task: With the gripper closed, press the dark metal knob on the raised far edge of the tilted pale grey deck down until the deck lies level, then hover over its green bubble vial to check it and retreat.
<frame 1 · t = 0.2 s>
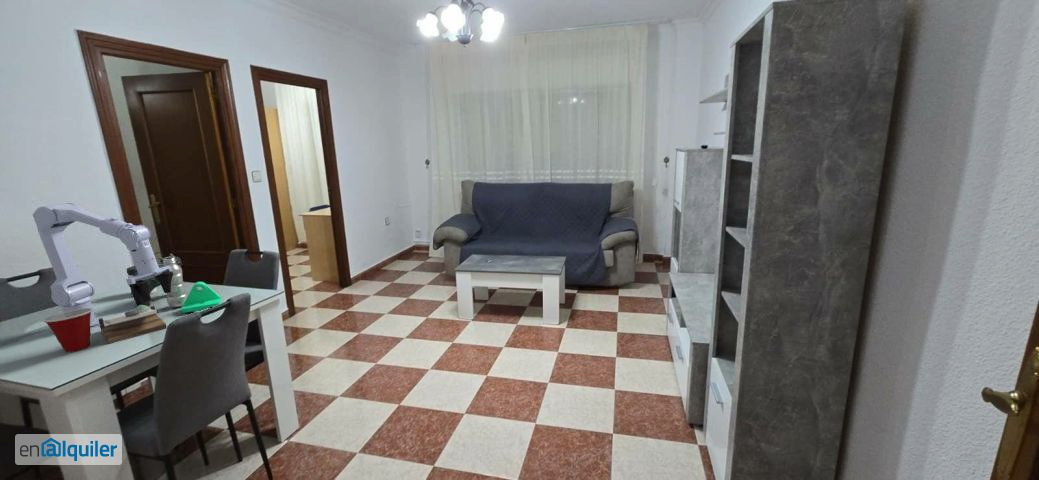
hand: (158, 296, 149), 11 cm above the table, tool pointing down, fingers open, 7 cm apart
plastic cup: (77, 348, 135), on the table
jar: (145, 293, 185), on the table
green triangular piece: (202, 309, 166), on the table
plastic bottle: (179, 306, 169), on the table
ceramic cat: (163, 300, 176), on the table
instrument deck: (129, 313, 147), point 6 cm above the table, hinge at 12.0°
walnut base: (134, 329, 148), on the table
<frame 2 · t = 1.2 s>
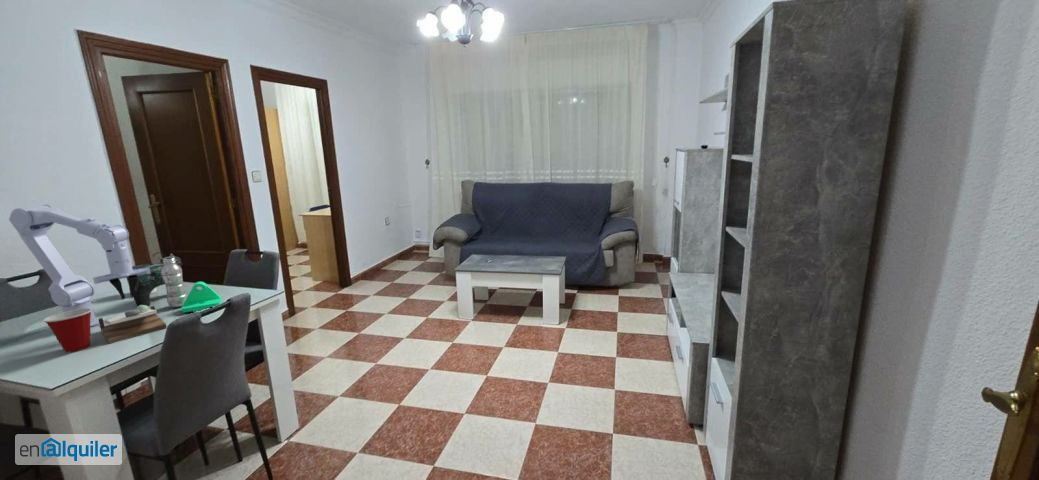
hand: (128, 297, 149), 10 cm above the table, tool pointing down, fingers closed
nothing on the table moved.
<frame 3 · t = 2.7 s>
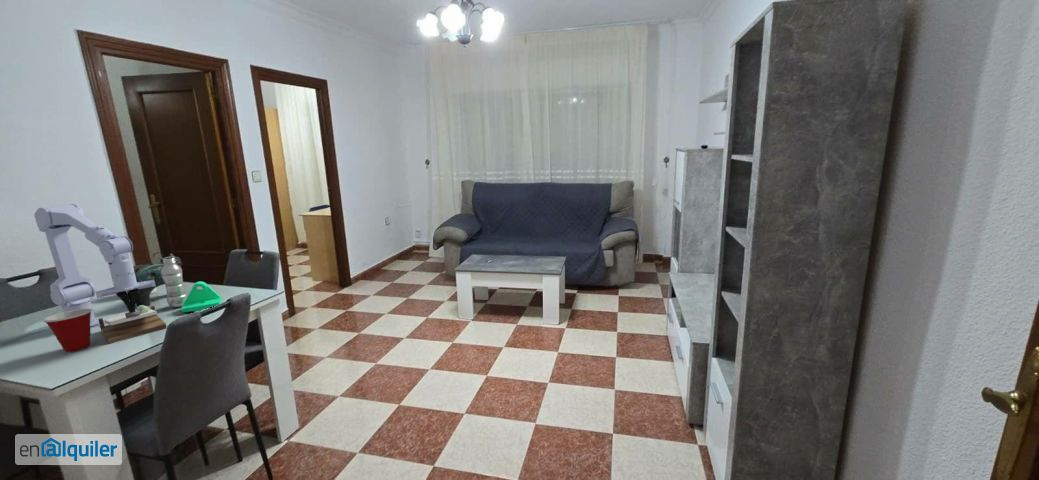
hand: (132, 311, 143), 8 cm above the table, tool pointing down, fingers closed, pressing on instrument deck
instrument deck: (130, 313, 147), point 6 cm above the table, hinge at 10.8°, touching gripper
everything else where it was.
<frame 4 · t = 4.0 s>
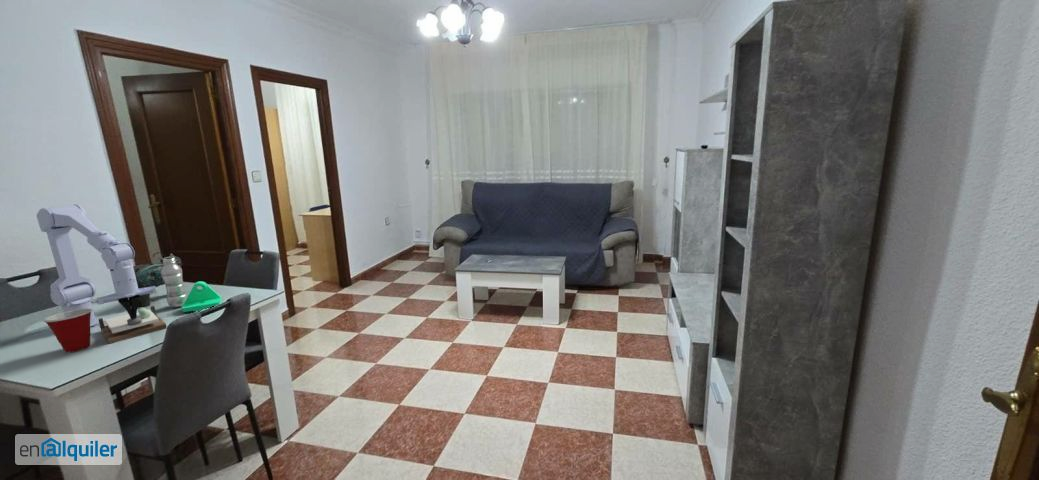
hand: (133, 317, 143), 6 cm above the table, tool pointing down, fingers closed
instrument deck: (131, 317, 147), point 5 cm above the table, hinge at -0.6°
everything else where it was.
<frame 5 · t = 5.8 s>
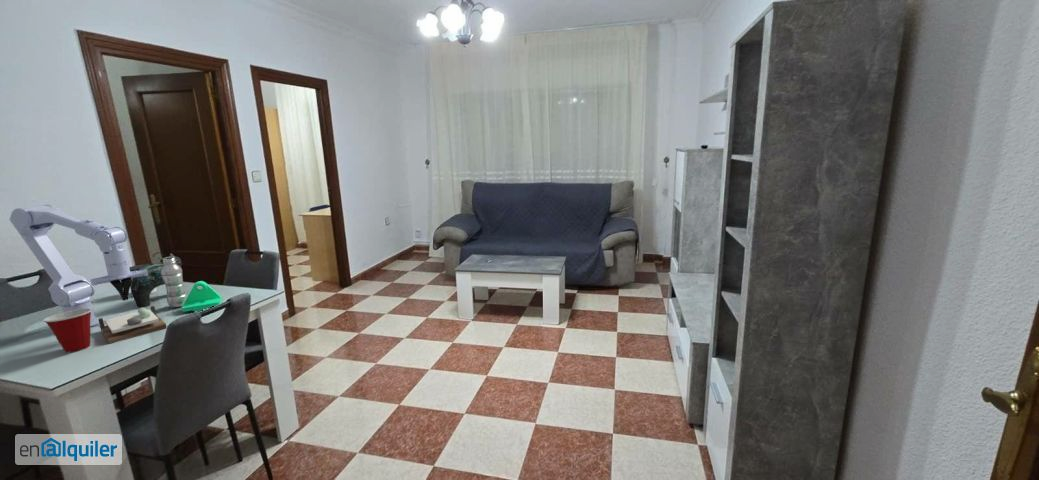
hand: (125, 299, 149), 10 cm above the table, tool pointing down, fingers closed
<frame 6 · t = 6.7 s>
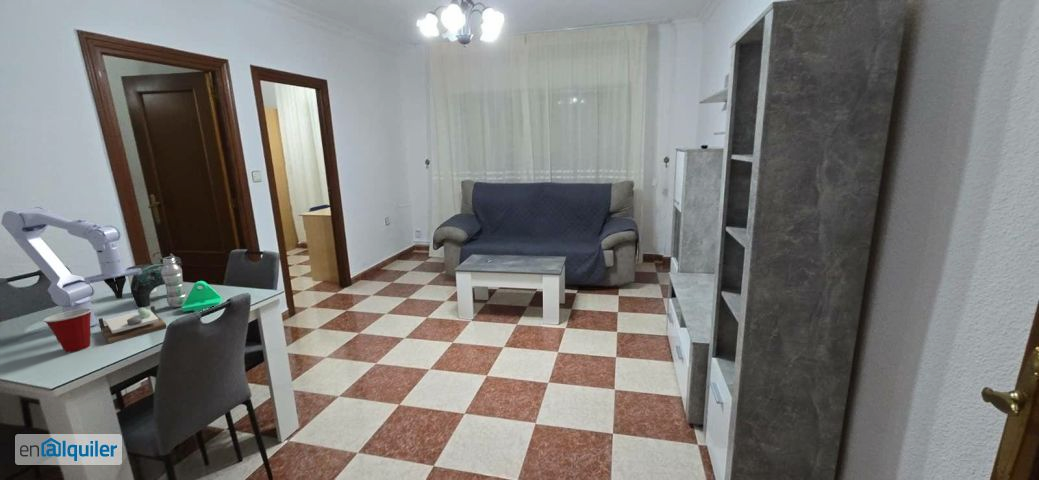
hand: (119, 297, 149), 10 cm above the table, tool pointing down, fingers closed
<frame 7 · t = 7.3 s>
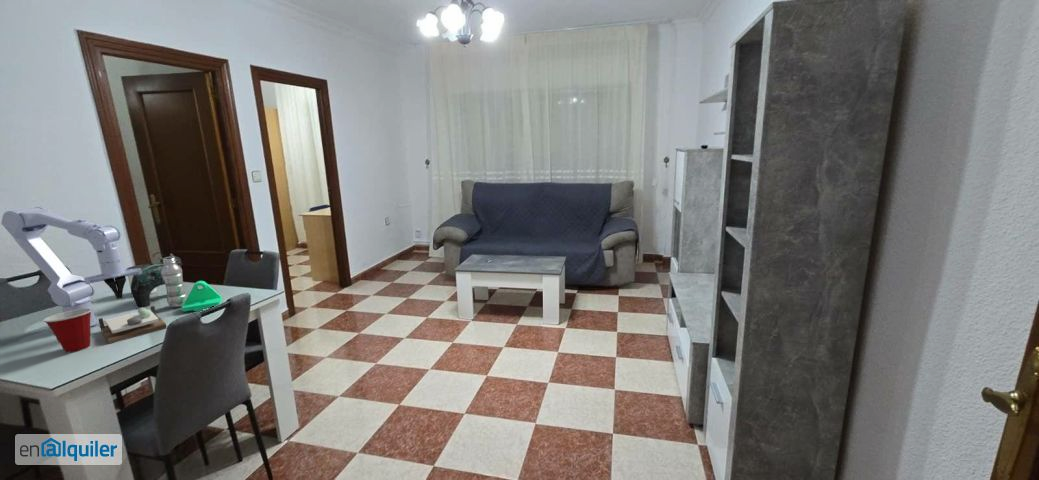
hand: (119, 297, 149), 10 cm above the table, tool pointing down, fingers closed
at the end: instrument deck at -1° (first picture: +12°); plastic cup moved 0.2 cm from its start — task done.
